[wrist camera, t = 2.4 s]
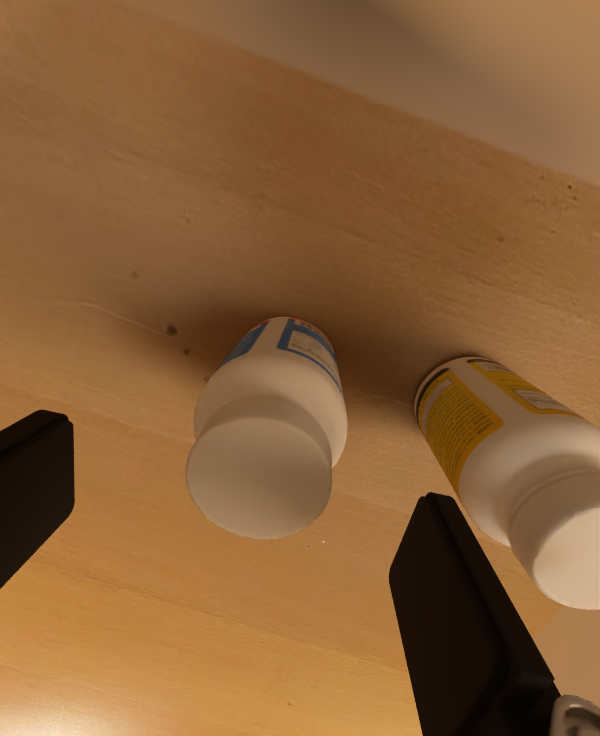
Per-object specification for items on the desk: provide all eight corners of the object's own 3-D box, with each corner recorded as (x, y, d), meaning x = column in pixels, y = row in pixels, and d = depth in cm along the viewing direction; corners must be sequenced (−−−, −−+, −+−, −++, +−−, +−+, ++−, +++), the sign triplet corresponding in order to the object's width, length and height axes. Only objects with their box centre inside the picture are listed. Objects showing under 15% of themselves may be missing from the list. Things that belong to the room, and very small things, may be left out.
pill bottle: (247, 412, 19) (180, 563, 10) (228, 321, 17) (125, 403, 8) (342, 403, 19) (363, 555, 9) (333, 308, 17) (347, 380, 8)
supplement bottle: (424, 454, 19) (517, 640, 10) (401, 372, 18) (486, 506, 9) (522, 429, 18) (721, 609, 9) (506, 340, 17) (729, 451, 8)
